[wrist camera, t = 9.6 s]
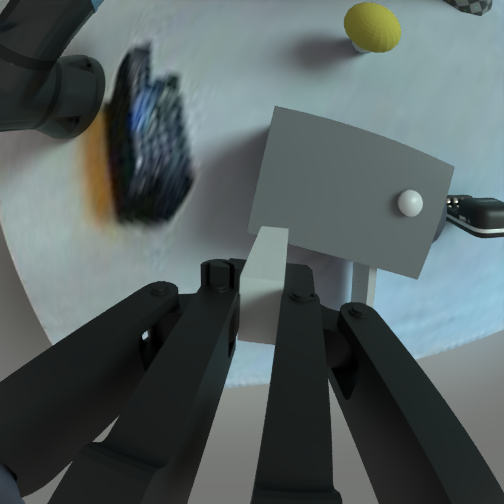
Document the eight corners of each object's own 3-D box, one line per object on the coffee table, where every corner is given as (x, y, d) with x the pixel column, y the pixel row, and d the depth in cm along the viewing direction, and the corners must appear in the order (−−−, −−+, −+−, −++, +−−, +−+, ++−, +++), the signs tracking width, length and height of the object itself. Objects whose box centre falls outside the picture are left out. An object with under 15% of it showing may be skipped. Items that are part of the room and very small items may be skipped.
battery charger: (473, 190, 32) (519, 205, 21) (472, 215, 33) (516, 236, 22) (436, 190, 33) (480, 205, 22) (436, 216, 34) (477, 240, 23)
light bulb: (393, 45, 27) (417, 18, 18) (370, 76, 30) (393, 53, 20) (352, 18, 27) (365, -16, 17) (328, 48, 29) (336, 16, 20)
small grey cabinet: (262, 209, 38) (244, 235, 26) (282, 121, 34) (274, 104, 22) (398, 247, 36) (434, 286, 25) (423, 166, 32) (472, 175, 20)
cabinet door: (358, 315, 39) (370, 355, 31) (349, 316, 40) (359, 356, 31) (364, 238, 36) (382, 264, 27) (353, 238, 36) (369, 264, 27)
